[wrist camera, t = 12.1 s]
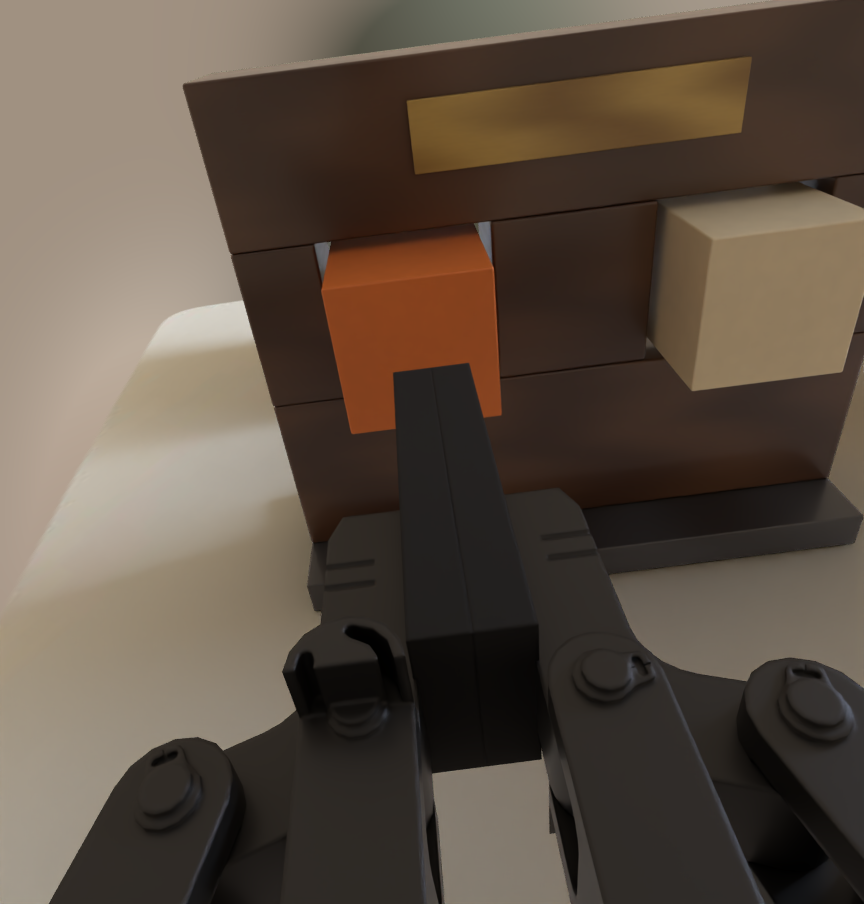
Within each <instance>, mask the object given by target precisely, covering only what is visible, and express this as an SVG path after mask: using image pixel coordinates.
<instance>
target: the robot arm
mask: <svg viewBox="0 0 864 904" xmlns="http://www.w3.org/2000/svg"><path fill="white" fill-rule="evenodd" d="M393 384H394V405H395V426H396V447H397V467H398V488H399V509H400V510H396V511H388V512H380V513H372V514H365V515H357V516H349V517H343V518H342V520H341V521H340V523H339V524H338V526H337V527H336V529H335V531H334V532H333V534H332V535H331V537H330V539H329V540H328V549H327V560H326V568H327V570H326V572H325V583H324V588H325V591H324V594H323V605H322V616H321V625H319V626H317V627H316V628H314V629H313V630H311V631H310V632H308V633H306V634H305V635H304V636H303V637H302V638H301V639H300V640H299V641H298V643H297V644H296V645H295V646H294V647H293V648H292V650H291V651H290V652H289V655H288V657H287V660H286V663H285V666H284V668H283V671H282V673H283V675H284V678H285V681H286V683H287V686H288V689H289V691H290V694H291V697H292V699H293V702H294V705H295V707H296V711H295V712H294V713H293V714H291V715H290V716H289V717H288V718H287V719H285V720H284V721H283V722H282V723H280V724H279V725H277V726H275V727H273V728H272V729H270V730H268V731H266V732H264V733H262V734H260V735H258V736H255V737H253V738H251V739H248V740H246V741H244V742H242V743H239V744H237V745H235V746H233V747H230V748H228V749H226V750H224V751H222V749H221V748H220V747H219V746H218V745H217V744H216V743H213V742H210V741H207V740H204V739H201V738H199V737H195V738H184V739H175V740H173V741H170V742H168V743H166V744H163V745H161V746H159V747H156V748H154V749H152V750H151V751H149V752H148V753H147V754H146V755H144V756H143V757H142V758H140V759H139V760H138V761H137V762H135V763H134V764H133V765H132V766H130V768H129V769H128V770H127V772H126V773H125V774H124V776H123V777H122V778H121V780H120V781H119V782H118V783H117V785H116V786H115V787H114V789H113V791H112V792H111V794H110V796H109V798H108V799H107V801H106V803H105V805H104V807H103V808H102V810H101V812H100V814H99V815H98V817H97V819H96V821H95V823H94V824H93V826H92V828H91V830H90V831H89V833H88V835H87V837H86V839H85V840H84V842H83V844H82V846H81V847H80V849H79V851H78V853H77V855H76V856H75V858H74V860H73V862H72V863H71V865H70V867H69V869H68V870H67V872H66V874H65V876H64V878H63V879H62V881H61V883H60V885H59V886H58V888H57V890H56V892H55V894H54V895H53V897H52V899H51V901H50V902H49V904H445V901H444V889H443V876H442V864H441V851H440V839H439V826H438V817H437V812H436V807H435V802H434V794H433V781H432V773H439V772H446V771H454V770H462V769H470V768H477V767H485V766H493V765H501V764H509V763H516V762H524V761H532V760H540V759H542V755H541V748H542V752H543V757H544V761H545V766H546V770H547V774H548V779H549V824H550V834H552V833H556V837H557V841H558V846H559V851H560V855H561V860H562V865H563V869H564V874H565V878H566V883H567V888H568V892H569V897H570V902H571V904H864V688H862V687H861V686H860V685H858V684H857V683H856V682H854V681H853V680H852V679H850V678H849V677H847V676H846V675H845V674H843V673H842V672H840V671H838V670H835V669H833V668H830V667H828V666H826V665H823V664H821V663H818V662H816V661H810V660H803V659H796V658H785V659H779V660H773V661H768V662H766V663H765V664H763V665H762V666H760V667H759V668H757V669H756V670H754V671H753V672H752V673H751V675H750V677H749V679H748V681H747V682H746V681H740V680H734V679H727V678H721V677H714V676H708V675H702V674H697V673H693V672H689V671H685V670H681V669H678V668H676V667H674V666H672V665H669V664H667V663H665V662H663V661H661V660H660V659H659V658H657V657H656V656H654V655H653V654H652V652H650V651H649V650H647V649H646V648H645V647H644V646H643V645H642V644H641V643H640V642H639V641H638V640H637V639H636V637H635V635H634V633H633V632H632V630H631V628H630V626H629V624H628V621H627V619H626V617H625V614H624V612H623V609H622V607H621V604H620V602H619V600H618V597H617V595H616V592H615V590H614V588H613V585H612V583H611V580H610V578H609V575H608V573H607V571H606V568H605V566H604V563H603V561H602V558H601V556H600V554H598V550H597V546H596V544H595V542H594V539H593V537H592V534H590V531H589V527H588V525H587V522H586V520H585V517H584V515H583V513H582V510H581V508H580V506H579V505H578V504H577V503H576V502H575V501H574V500H572V499H571V498H570V497H569V496H568V495H567V494H566V493H565V492H563V491H562V490H561V489H560V488H559V487H558V488H550V489H542V490H535V491H527V492H519V493H511V494H504V492H503V488H502V484H501V481H500V477H499V473H498V469H497V466H496V462H495V458H494V454H493V451H492V447H491V443H490V439H489V436H488V432H487V428H486V424H485V421H484V417H483V413H482V409H481V406H480V402H479V398H478V394H477V391H476V387H475V383H474V379H473V376H472V372H471V368H470V364H469V363H462V364H455V365H447V366H439V367H431V368H424V369H416V370H408V371H400V372H393Z"/></svg>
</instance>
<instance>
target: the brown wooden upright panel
mask: <svg viewBox="0 0 864 904" xmlns="http://www.w3.org/2000/svg"><path fill="white" fill-rule="evenodd" d="M183 90H184V94H185V97H186V101H187V104H188V108H189V111H190V115H191V118H192V121H193V125H194V129H195V132H196V136H197V139H198V143H199V147H200V150H201V154H202V157H203V161H204V164H205V168H206V171H207V175H208V178H209V181H210V185H211V188H212V192H213V196H214V199H215V203H216V206H217V210H218V213H219V217H220V220H221V224H222V227H223V231H224V235H225V238H226V241H227V245H228V248H229V252H230V253H231V254H232V255H231V259H232V262H233V266H234V269H235V273H236V277H237V280H238V283H239V287H240V291H241V294H242V298H243V301H244V305H245V308H246V312H247V315H248V319H249V322H250V326H251V330H252V333H253V337H254V340H255V344H256V347H257V351H258V354H259V358H260V361H261V365H262V368H263V372H264V375H265V379H266V382H267V386H268V389H269V393H270V396H271V400H272V404H273V406H275V407H274V410H275V414H276V417H277V421H278V424H279V428H280V431H281V435H282V438H283V442H284V445H285V449H286V452H287V456H288V459H289V463H290V466H291V470H292V474H293V477H294V481H295V484H296V488H297V491H298V495H299V498H300V502H301V505H302V509H303V512H304V516H305V519H306V523H307V526H308V530H309V533H310V537H311V540H312V542H313V544H312V552H311V560H310V568H309V576H308V584H307V587H308V591H309V594H310V597H311V601H312V604H313V607H314V610H315V611H318V610H322V605H323V594H324V591H325V588H324V583H325V572H326V570H327V568H326V560H327V549H328V540H329V539H330V537H331V535H332V534H333V532H334V531H335V529H336V527H337V526H338V524H339V523H340V521H341V520H342V518H343V517H349V516H357V515H365V514H372V513H380V512H388V511H396V510H400V509H399V488H398V467H397V447H396V429H391V430H383V431H375V432H367V433H359V434H352V433H351V430H350V425H349V421H348V416H347V411H346V406H345V402H344V397H343V392H342V388H341V383H340V378H339V373H338V369H337V364H336V359H335V354H334V350H333V345H332V340H331V335H330V331H329V326H328V321H327V317H326V312H325V307H324V302H323V298H322V293H321V289H322V284H323V279H324V275H325V270H326V265H327V260H328V255H329V248H328V243H327V242H332V241H339V240H347V239H355V238H363V237H371V236H378V235H386V234H394V233H402V232H409V231H417V230H425V229H433V228H441V227H448V226H456V225H464V224H472V223H478V224H479V237H480V239H481V241H482V243H483V246H484V248H485V250H486V252H487V254H488V257H489V259H490V261H491V263H492V266H493V268H494V279H495V298H496V316H497V334H498V353H499V371H500V390H501V408H502V414H501V415H500V416H493V417H485V418H484V421H485V424H486V428H487V432H488V436H489V439H490V443H491V447H492V451H493V454H494V458H495V462H496V466H497V469H498V473H499V477H500V481H501V484H502V488H503V492H504V494H511V493H519V492H527V491H535V490H542V489H550V488H558V487H559V488H560V489H561V490H562V491H563V492H565V493H566V494H567V495H568V496H569V497H570V498H571V499H572V500H574V501H575V502H576V503H577V504H578V505H579V506H580V508H581V510H582V513H583V515H584V517H585V520H586V522H587V525H588V527H589V531H590V534H592V537H593V539H594V542H595V544H596V546H597V550H598V554H600V556H601V558H602V561H603V563H604V566H605V568H606V571H607V573H608V574H612V573H620V572H628V571H636V570H643V569H651V568H659V567H667V566H675V565H683V564H691V563H699V562H707V561H715V560H723V559H731V558H739V557H747V556H754V555H762V554H770V553H778V552H786V551H794V550H802V549H810V548H818V547H826V546H834V545H842V544H850V543H854V542H855V540H856V537H857V534H858V531H859V528H860V526H861V523H862V520H863V515H862V514H861V513H860V512H859V511H858V510H857V508H856V507H855V506H854V505H853V504H852V503H851V502H850V501H849V500H848V499H847V498H846V497H845V496H844V495H843V494H842V493H841V492H840V491H839V490H838V489H837V488H836V487H835V486H834V485H833V483H832V482H831V481H830V480H829V479H828V478H827V477H828V476H829V473H830V470H831V466H832V463H833V460H834V456H835V453H836V450H837V446H838V443H839V439H840V436H841V433H842V429H843V426H844V423H845V419H846V416H847V412H848V409H849V406H850V402H851V399H852V396H853V392H854V389H855V385H856V382H857V379H858V375H859V372H860V368H861V365H862V362H863V358H864V296H863V300H862V303H861V307H860V310H859V314H858V318H857V321H856V325H855V328H854V332H853V335H852V339H851V343H850V346H849V350H848V353H847V357H846V360H845V364H844V368H843V371H842V372H840V373H832V374H824V375H816V376H808V377H800V378H793V379H785V380H777V381H769V382H761V383H753V384H745V385H738V386H730V387H722V388H714V389H706V390H698V391H691V390H690V389H689V387H688V386H687V385H686V384H685V382H684V381H683V380H682V379H681V378H680V376H679V375H678V374H677V373H676V372H675V370H674V369H673V368H672V367H671V365H670V364H669V363H668V362H667V361H666V359H665V358H664V357H663V356H662V355H661V353H660V352H659V351H658V350H657V348H656V347H655V346H654V345H653V344H652V342H651V341H650V340H649V339H648V338H647V326H648V315H649V303H650V291H651V280H652V268H653V256H654V245H655V233H656V222H657V210H658V201H657V200H658V199H666V198H674V197H682V196H689V195H697V194H705V193H713V192H721V191H728V190H736V189H744V188H752V187H759V186H767V185H775V184H783V183H791V182H800V183H802V184H804V185H807V186H809V187H812V188H814V189H817V190H819V191H822V192H824V193H827V194H829V195H832V196H834V197H837V198H839V199H841V200H844V201H846V202H849V203H851V204H854V205H856V206H859V207H861V208H864V0H773V1H765V2H757V3H750V4H742V5H734V6H726V7H718V8H711V9H704V10H695V11H688V12H680V13H672V14H665V15H657V16H649V17H641V18H634V19H626V20H618V21H611V22H603V23H595V24H587V25H580V26H572V27H565V28H557V29H549V30H541V31H534V32H526V33H518V34H510V35H503V36H495V37H487V38H480V39H472V40H464V41H456V42H449V43H441V44H434V45H426V46H418V47H410V48H403V49H395V50H388V51H379V52H372V53H364V54H356V55H349V56H341V57H333V58H326V59H318V60H310V61H302V62H295V63H287V64H279V65H272V66H264V67H256V68H248V69H241V70H233V71H226V72H218V73H211V74H208V75H206V76H203V77H200V78H198V79H195V80H192V81H190V82H187V83H184V84H183Z"/></svg>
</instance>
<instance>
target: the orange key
mask: <svg viewBox="0 0 864 904" xmlns="http://www.w3.org/2000/svg"><path fill="white" fill-rule="evenodd" d="M321 293H322V298H323V302H324V307H325V312H326V317H327V321H328V326H329V331H330V335H331V340H332V345H333V350H334V354H335V359H336V364H337V369H338V373H339V378H340V383H341V388H342V392H343V397H344V402H345V406H346V411H347V416H348V421H349V425H350V430H351V433H352V434H359V433H367V432H375V431H383V430H391V429H396V426H395V405H394V384H393V372H400V371H408V370H416V369H424V368H431V367H439V366H447V365H455V364H462V363H469V364H470V368H471V372H472V376H473V379H474V383H475V387H476V391H477V394H478V398H479V402H480V406H481V409H482V413H483V417H484V418H485V417H493V416H500V415H501V414H502V408H501V390H500V371H499V353H498V334H497V316H496V298H495V279H494V268H493V266H492V263H491V261H490V259H489V257H488V254H487V252H486V250H485V248H484V246H483V243H482V241H481V239H480V237H479V234H478V232H477V230H476V228H475V225H474V223H472V224H464V225H456V226H448V227H441V228H433V229H425V230H417V231H409V232H402V233H394V234H386V235H378V236H371V237H363V238H355V239H347V240H339V241H332V242H331V246H330V250H329V255H328V260H327V265H326V270H325V275H324V279H323V284H322V289H321Z"/></svg>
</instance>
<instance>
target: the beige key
mask: <svg viewBox="0 0 864 904" xmlns="http://www.w3.org/2000/svg"><path fill="white" fill-rule="evenodd" d="M657 201H658V210H657V222H656V233H655V245H654V256H653V268H652V280H651V291H650V303H649V315H648V326H647V338H648V339H649V340H650V341H651V342H652V344H653V345H654V346H655V347H656V348H657V350H658V351H659V352H660V353H661V355H662V356H663V357H664V358H665V359H666V361H667V362H668V363H669V364H670V365H671V367H672V368H673V369H674V370H675V372H676V373H677V374H678V375H679V376H680V378H681V379H682V380H683V381H684V382H685V384H686V385H687V386H688V387H689V389H690V390H691V391H698V390H706V389H714V388H722V387H730V386H738V385H745V384H753V383H761V382H769V381H777V380H785V379H793V378H800V377H808V376H816V375H824V374H832V373H840V372H842V371H843V368H844V364H845V360H846V357H847V353H848V350H849V346H850V343H851V339H852V335H853V332H854V328H855V325H856V321H857V318H858V314H859V310H860V307H861V303H862V300H863V296H864V208H861V207H859V206H856V205H854V204H851V203H849V202H846V201H844V200H841V199H839V198H837V197H834V196H832V195H829V194H827V193H824V192H822V191H819V190H817V189H814V188H812V187H809V186H807V185H804V184H802V183H800V182H791V183H783V184H775V185H767V186H759V187H752V188H744V189H736V190H728V191H721V192H713V193H705V194H697V195H689V196H682V197H674V198H666V199H658V200H657Z"/></svg>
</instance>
